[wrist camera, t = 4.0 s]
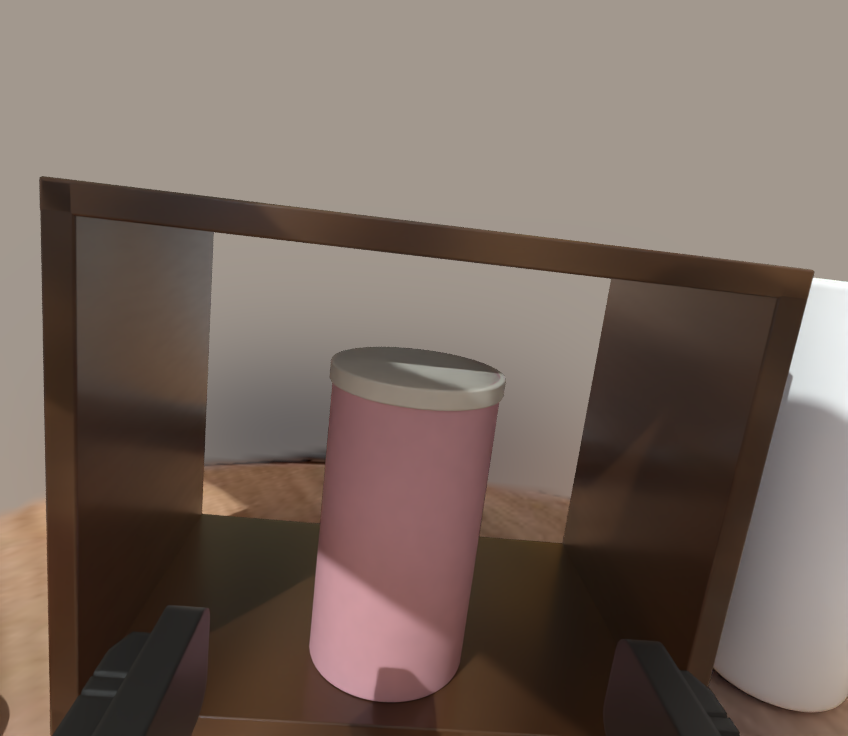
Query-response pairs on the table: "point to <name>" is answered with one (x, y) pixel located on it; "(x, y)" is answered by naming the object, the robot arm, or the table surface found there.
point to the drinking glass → (799, 532)
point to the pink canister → (400, 518)
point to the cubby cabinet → (298, 541)
